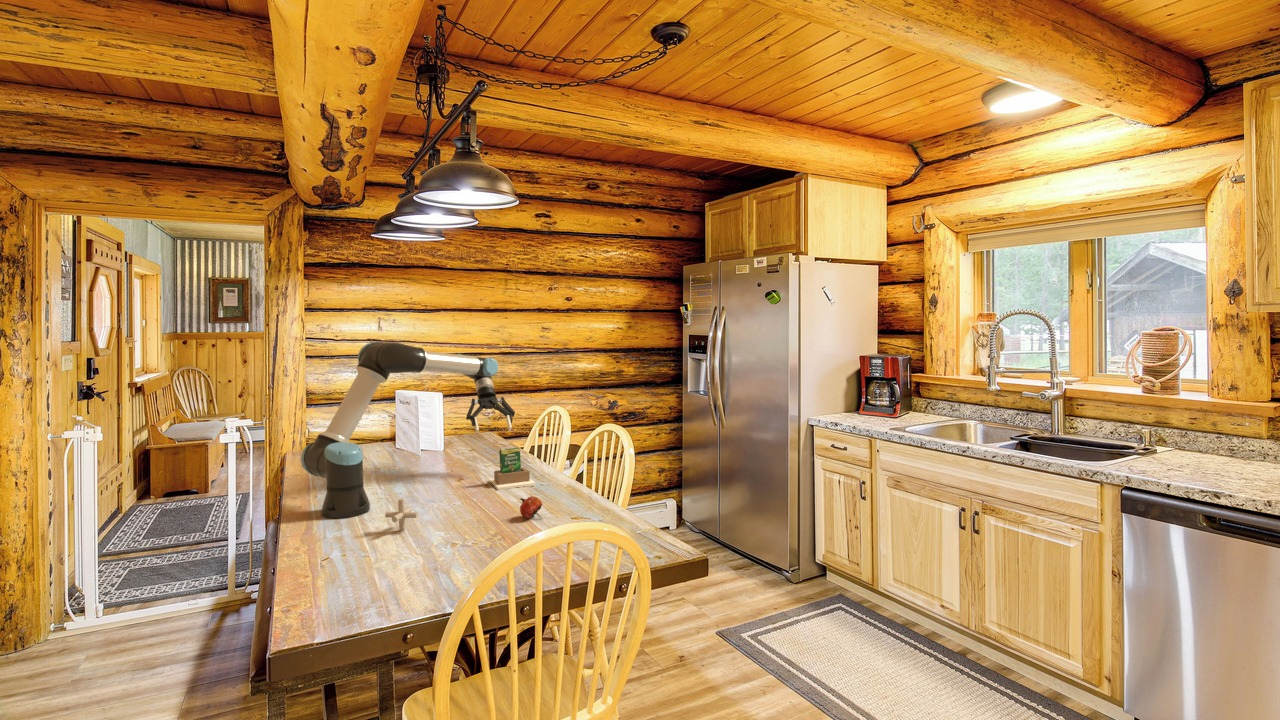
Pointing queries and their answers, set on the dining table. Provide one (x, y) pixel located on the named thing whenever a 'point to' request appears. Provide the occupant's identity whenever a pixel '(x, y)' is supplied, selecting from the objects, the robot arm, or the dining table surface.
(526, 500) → the pomegranate
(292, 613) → the dining table surface
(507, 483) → the socket board
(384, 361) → the robot arm
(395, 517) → the pipe connector
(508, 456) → the coffee box
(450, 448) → the dining table surface
